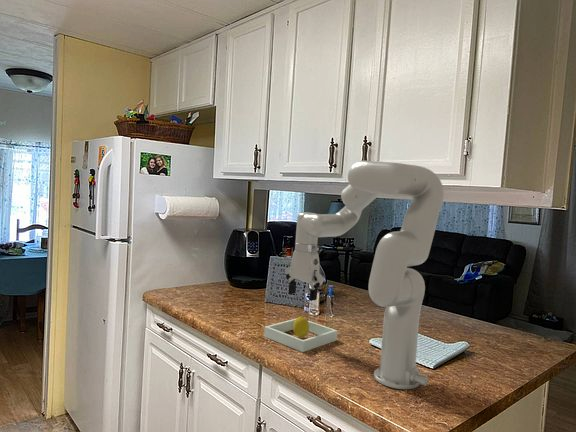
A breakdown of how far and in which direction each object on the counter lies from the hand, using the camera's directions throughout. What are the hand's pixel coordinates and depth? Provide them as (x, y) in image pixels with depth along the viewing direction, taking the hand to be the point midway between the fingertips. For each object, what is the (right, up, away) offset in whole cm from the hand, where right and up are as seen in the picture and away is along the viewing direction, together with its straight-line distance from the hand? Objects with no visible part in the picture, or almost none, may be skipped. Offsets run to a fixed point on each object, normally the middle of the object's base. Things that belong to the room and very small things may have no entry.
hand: (302, 296), depth 148 cm
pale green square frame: (-1, -15, +1) cm, 15 cm away
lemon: (-1, -15, +1) cm, 15 cm away
